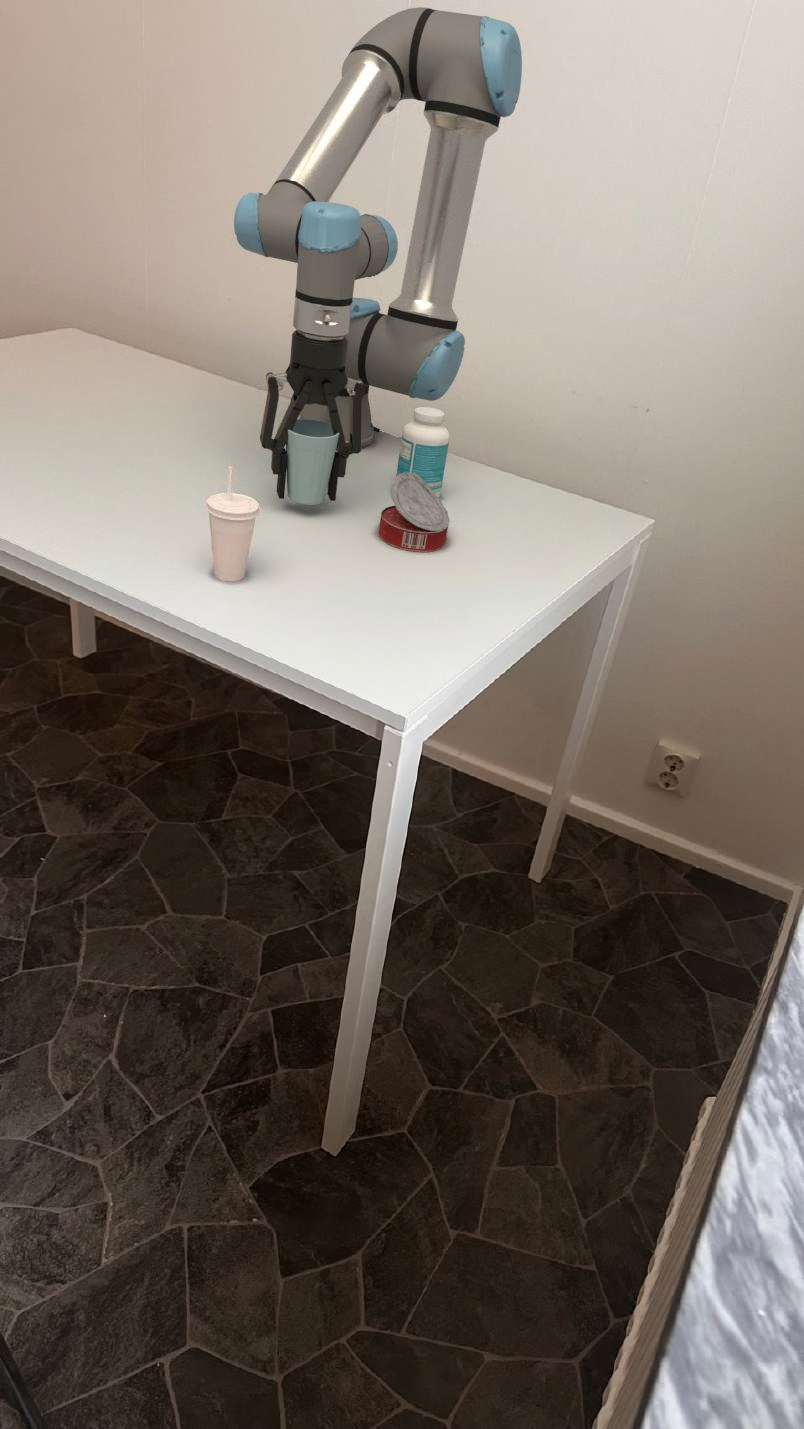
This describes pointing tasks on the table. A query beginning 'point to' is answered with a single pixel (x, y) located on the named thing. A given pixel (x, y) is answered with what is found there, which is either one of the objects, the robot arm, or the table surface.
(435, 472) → the pill bottle
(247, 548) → the smoothie
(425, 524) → the canned food
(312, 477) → the cup
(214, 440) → the table surface
